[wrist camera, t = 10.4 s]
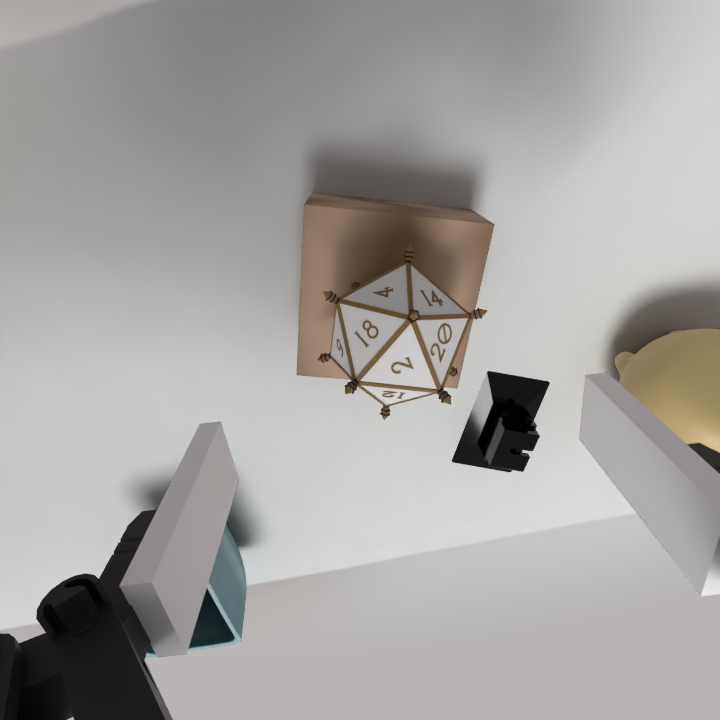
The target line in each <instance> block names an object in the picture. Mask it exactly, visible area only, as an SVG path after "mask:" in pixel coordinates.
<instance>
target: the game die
mask: <svg viewBox="0 0 720 720" xmlns="http://www.w3.org/2000/svg"><path fill="white" fill-rule="evenodd" d="M404 252H405V255H403V256H404V258H405V261H404V262H403V263H401V264H399V265H398V266H396V267H394V268H392V269H390V270H388V271H386V272H385V273H383V274H381V275H379V276H377V277H375V278H374V279H372V280H370V281H368V282H366V283H364V284H363V285H359V284H360V283H354V282H352V287H351V288H352V289H353V290H352V291H350V292H348V293H346V294H344V295H342V296H340V297H339V298H338V297H337V296H336V294H335V293H333V292H332V291H323V293H324V296H325V298H326V301H327V300H328V301H330V303H331V302H334V303H335V312H334V321H333V330H332V339H331V347H330V353H329V354H327V353H324V354H322V353H321V355H320V357H319V358H318V359H317V360H318V361H321V362H322V363H324V362H325V361H326V362H327V361H329V359H332V360H333V361H334V363H335V364H336V365H337V366H338V367H339V368H340V369H341V370H342V371H343V372H344V373H345V374H346V375H347V376H348V377H349V379H350V380H351V382H348V384H347V385H345V394H348V393H354V391H355V390H356V389H357V386H358V387H359V388H361V389H362V390H363V391H365V392H366V393H367V394H369V395H370V396H372V397H373V398H374V399H376V400H377V401H378V402H380V403H381V404H382V405H383V408H382V409H381V411H382V412H381V413H380V414H381V415H382V417H383V419H384V420H385V419H386V418H387V417H388V416H389V415H390V414H389V412H390V409H389V406H391V405H395V404H399V403H402V402H406V401H410V400H414V399H417V398H421V397H425V396H429V395H432V394H436V393H437V394H438V395H439V399H441V400H442V401H441V402H442V403H443V402H444V403H448V404H451V396H450V395H449V394H448V393H447V391H444V390H443V388H444V386H445V383H446V381H447V378H448V376H449V374H450V375H451V376H453V377H454V376H456V375H458V372H457V368H454V366H453V367H452V365H453V363H454V360H455V358H456V355H457V353H458V350H459V348H460V345H461V343H462V340H463V338H464V335H465V332H466V330H467V327H468V325H469V322H470V320H471V319H476V320H477V318H482V316H483V315H484V314H485V313H486V312H487V310H482V309H479V308H478V309H477V310H475V309H474V310H473V311H472V312H471V313H469V312H467V311H466V310H465V309H464V308H463V307H462V306H461V305H459V304H458V303H457V302H456V301H455V300H454V299H452V298H451V297H450V296H449V295H448V294H447V293H446V292H444V291H443V290H442V289H441V288H440V287H439V286H437V285H436V284H435V283H434V282H433V281H432V280H431V279H429V278H428V277H427V276H426V275H425V274H424V273H422V272H421V271H420V270H419V269H418V268H417V267H416V266H414V265H413V264H412V263H411V260H412V258H414V257H413V253H415V252H414V251H413V249H412V246H411V244H410V245H409V247H408V248H407V249H406V250H405V251H404Z"/></svg>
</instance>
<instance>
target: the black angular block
mask: <svg viewBox="0 0 720 720" xmlns="http://www.w3.org/2000/svg"><path fill="white" fill-rule="evenodd" d="M549 384H550V383H549V382H548V381H542V380H537V379H531V378H525V377H519V376H514V375H508V374H502V373H497V372H491V371H488V372H487V373H486V376H485V378H484V381H483V383H482V386H481V388H480V391H479V393H478V396H477V398H476V401H475V403H474V406H473V408H472V411H471V414H470V416H469V419H468V421H467V424H466V426H465V429H464V431H463V434H462V436H461V439H460V441H459V444H458V446H457V449H456V451H455V454H454V456H453V459H452V462H454V463H460V464H466V465H471V466H477V467H483V468H489V469H494V470H500V471H506V472H511V471H512V470H515V471H521V472H523V471H524V469H525V467H526V465H527V463H528V460H529V458H530V457H529V455H528V454H527V453H522V451H523V450H527V451H533V450H534V448H535V445H536V443H537V441H538V439H539V437H540V436H539V434H538V433H537V431H536V427H537V425H536V424H535V422H534V418H535V416H536V414H537V411H538V409H539V407H540V405H541V402H542V400H543V398H544V395H545V393H546V391H547V388H548V386H549Z"/></svg>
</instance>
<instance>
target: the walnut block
mask: <svg viewBox="0 0 720 720" xmlns="http://www.w3.org/2000/svg"><path fill="white" fill-rule="evenodd" d="M493 228H494V224H493V223H491V222H490V221H488V220H487V219H485V218H484V217H482V216H480V215H479V214H477V213H476V212H474V211H473V210H469V209H460V208H450V207H441V206H431V205H422V204H412V203H403V202H394V201H384V200H375V199H365V198H356V197H346V196H337V195H327V194H318V193H312V194H311V196H310V197H309V199H308V200H307V202H306V203H305V205H304V227H303V248H302V270H301V291H300V313H299V334H298V356H297V375H302V376H314V377H326V378H338V379H349V377H348V376H347V375H346V374H345V373H344V372H343V371H342V370H341V369H340V368H339V367H338V366H337V365H336V364H335V363H334V361H333V360H332V359H329V361H327V362H326V361H325V362H324V363H322V362H321V361H318V360H317V359H318V358H319V357H320V355H321V353H322V354H324V353H327V354H329V353H330V347H331V339H332V330H333V321H334V312H335V303H334V302H331V303H330V301H328V300H327V301H326V298H325V296H324V293H323V291H332V292H333V293H335V294H336V296H337V297H338V298H339V297H340V296H342V295H344V294H346V293H348V292H350V291H352V290H353V289H352V288H351V287H352V282H354V283H360V284H359V285H363V284H364V283H366V282H368V281H370V280H372V279H374V278H375V277H377V276H379V275H381V274H383V273H385V272H386V271H388V270H390V269H392V268H394V267H396V266H398V265H399V264H401V263H403V262H404V261H405V258H404V256H403V255H405V252H404V251H405V250H406V249H407V248H408V247H409V245H410V244H411V246H412V249H413V251H414V252H415V253H413V257H414V258H412V260H411V263H412V264H413V265H414V266H416V267H417V268H418V269H419V270H420V271H421V272H422V273H424V274H425V275H426V276H427V277H428V278H429V279H431V280H432V281H433V282H434V283H435V284H436V285H437V286H439V287H440V288H441V289H442V290H443V291H444V292H446V293H447V294H448V295H449V296H450V297H451V298H452V299H454V300H455V301H456V302H457V303H458V304H459V305H461V306H462V307H463V308H464V309H465V310H466V311H467V312H469V313H471V312H472V311H473V310H474V309H475V308H476V303H477V299H478V295H479V290H480V286H481V281H482V277H483V272H484V268H485V263H486V259H487V255H488V250H489V246H490V241H491V237H492V232H493ZM472 321H473V319H471V320H470V322H469V325H468V327H467V330H466V332H465V335H464V338H463V340H462V343H461V345H460V348H459V350H458V353H457V355H456V358H455V360H454V363H453V365H452V367H453V366H454V368H457V372H458V375H456V376H454V377H453V376H451V375H450V374H449V376H448V378H447V381H446V383H445V386H444V387H447V388H458V383H459V379H460V374H461V370H462V365H463V361H464V357H465V352H466V348H467V343H468V339H469V334H470V330H471V326H472Z"/></svg>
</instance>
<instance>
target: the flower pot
mask: <svg viewBox="0 0 720 720" xmlns="http://www.w3.org/2000/svg"><path fill="white" fill-rule="evenodd" d="M245 600H246V575H245V569H244V565H243V561H242V558H241V555H240V552H239V549H238V546H237V544H236V542H235V540H234V538H233V536H232V534H231V532H230V530H229V528H228V526H227V524H226V525H225V529H224V532H223V535H222V539H221V542H220V545H219V549H218V552H217V555H216V559H215V562H214V565H213V569H212V572H211V575H210V578H209V582H208V585H207V588H206V592H205V595H204V598H203V602H202V605H201V608H200V612H199V615H198V618H197V621H196V625H195V628H194V631H193V635H192V638H191V641H190V645H189V648H188V651H193V650H199V649H206V648H214V647H220V646H226V645H232V644H236V643H239V642H241V637H242V629H243V620H244V610H245ZM146 657H157V655H156V654H155V652H154V650H153V648H152V646H151V644H150V646H149V649H148V651H147V654H146Z"/></svg>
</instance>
